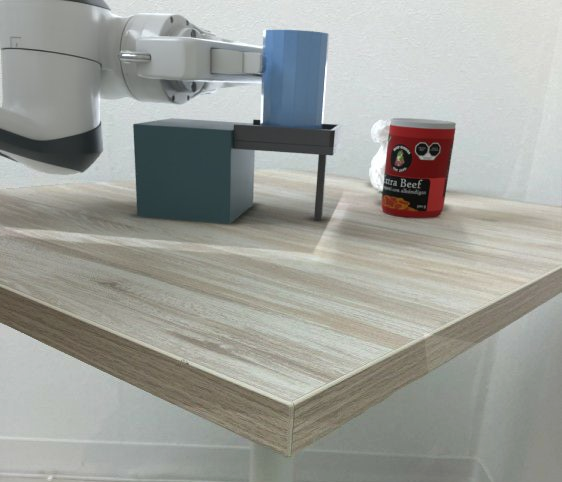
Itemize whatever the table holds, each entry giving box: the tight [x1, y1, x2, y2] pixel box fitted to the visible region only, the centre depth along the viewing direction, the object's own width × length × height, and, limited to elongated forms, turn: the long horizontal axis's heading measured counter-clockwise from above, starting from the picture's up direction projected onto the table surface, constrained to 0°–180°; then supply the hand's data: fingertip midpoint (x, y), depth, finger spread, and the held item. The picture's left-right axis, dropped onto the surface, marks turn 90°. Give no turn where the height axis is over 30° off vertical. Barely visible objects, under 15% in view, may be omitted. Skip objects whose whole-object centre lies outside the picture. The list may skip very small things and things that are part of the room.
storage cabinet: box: [132, 117, 344, 225], centre depth 70 cm, size 20×12×10 cm, turn 81°
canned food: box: [380, 117, 456, 219], centre depth 80 cm, size 8×8×11 cm
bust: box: [368, 118, 392, 192], centre depth 95 cm, size 12×8×11 cm
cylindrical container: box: [259, 29, 330, 129], centre depth 66 cm, size 6×6×10 cm
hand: (283, 65), depth 65 cm, fingers open, 8 cm apart
